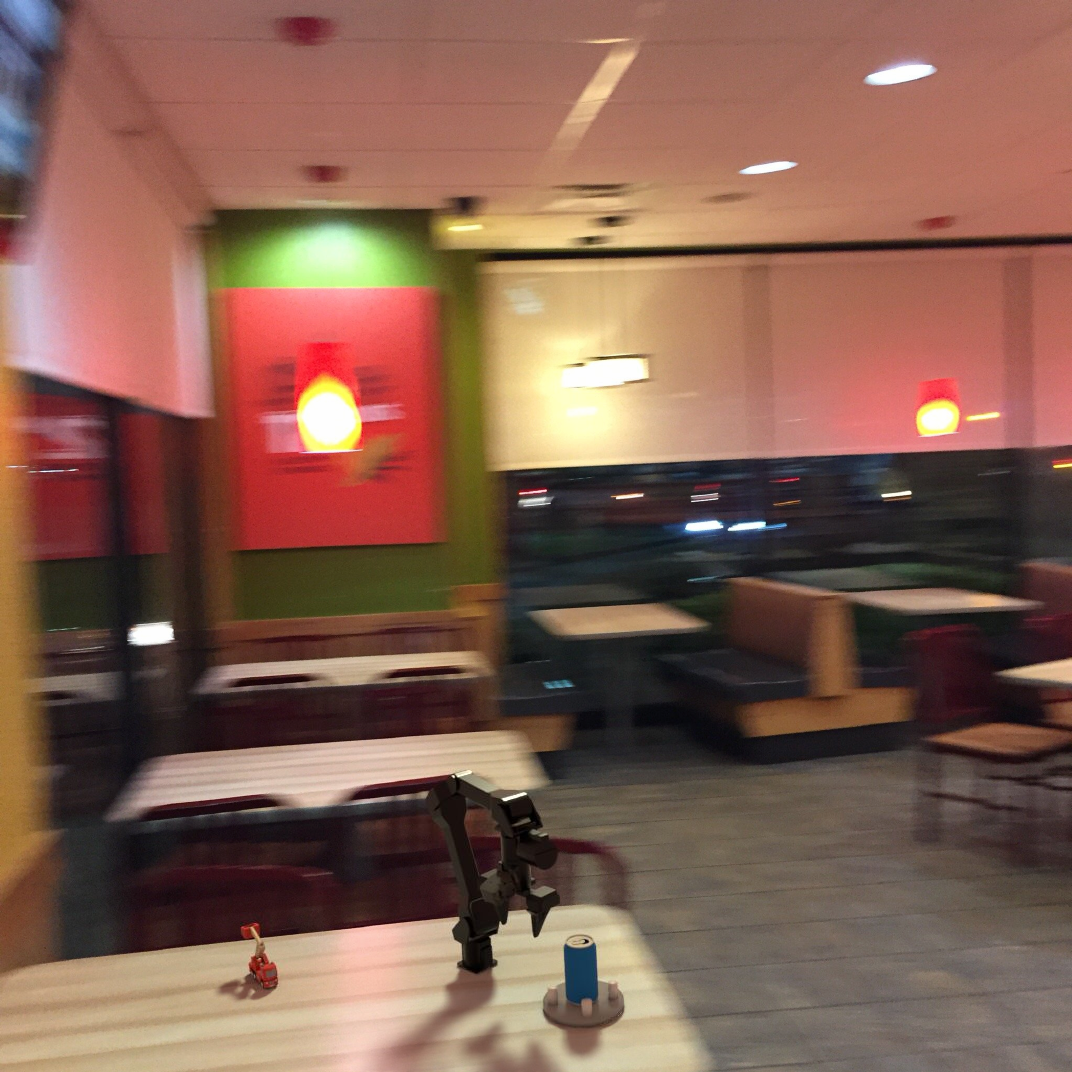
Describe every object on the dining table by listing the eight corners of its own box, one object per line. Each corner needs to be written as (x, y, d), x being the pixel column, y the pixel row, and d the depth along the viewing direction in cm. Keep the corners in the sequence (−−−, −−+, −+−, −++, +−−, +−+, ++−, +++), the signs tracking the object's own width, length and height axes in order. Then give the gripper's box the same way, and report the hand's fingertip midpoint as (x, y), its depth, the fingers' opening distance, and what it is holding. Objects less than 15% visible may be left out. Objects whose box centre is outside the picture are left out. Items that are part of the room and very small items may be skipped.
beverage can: (602, 1004, 204) (600, 945, 203) (571, 1010, 202) (568, 950, 201) (593, 988, 210) (590, 931, 209) (562, 994, 208) (559, 936, 208)
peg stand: (526, 1010, 205) (525, 990, 205) (576, 977, 217) (575, 957, 217) (591, 1036, 195) (590, 1015, 194) (640, 1000, 207) (639, 980, 207)
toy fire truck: (264, 991, 218) (261, 946, 217) (243, 966, 229) (240, 924, 229) (280, 986, 220) (277, 942, 219) (258, 962, 231) (255, 920, 231)
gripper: (455, 857, 211) (459, 931, 212) (520, 880, 198) (524, 959, 199) (495, 841, 219) (499, 913, 220) (559, 861, 206) (563, 938, 207)
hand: (519, 930), depth 211 cm, fingers open, 9 cm apart
